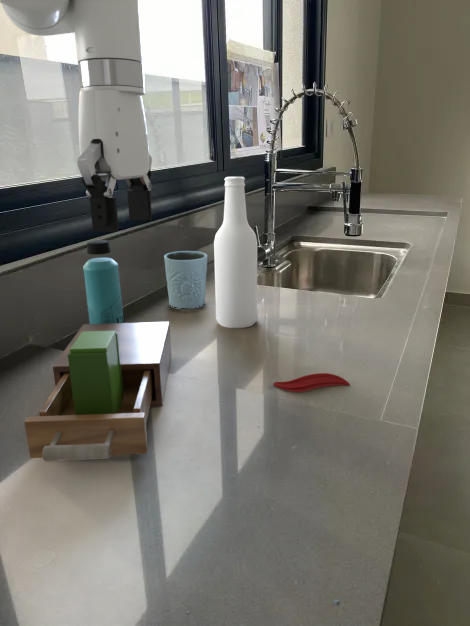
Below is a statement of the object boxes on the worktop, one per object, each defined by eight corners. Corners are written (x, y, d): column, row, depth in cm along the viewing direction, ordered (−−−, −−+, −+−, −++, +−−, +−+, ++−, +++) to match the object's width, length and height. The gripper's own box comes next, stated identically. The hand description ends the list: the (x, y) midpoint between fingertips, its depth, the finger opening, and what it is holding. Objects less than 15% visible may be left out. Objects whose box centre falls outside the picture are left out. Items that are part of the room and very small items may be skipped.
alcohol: (248, 331, 101) (247, 178, 91) (209, 326, 104) (204, 178, 94) (262, 318, 108) (263, 175, 99) (225, 313, 112) (222, 175, 102)
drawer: (141, 478, 54) (138, 439, 53) (15, 483, 54) (8, 444, 52) (160, 389, 74) (158, 359, 73) (68, 393, 74) (64, 362, 72)
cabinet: (162, 406, 72) (159, 363, 69) (58, 410, 71) (52, 366, 69) (171, 357, 88) (169, 321, 86) (87, 360, 88) (83, 324, 86)
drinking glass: (186, 296, 126) (183, 249, 122) (217, 302, 120) (216, 253, 116) (157, 306, 118) (154, 256, 114) (190, 313, 112) (187, 261, 109)
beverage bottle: (122, 351, 92) (112, 243, 85) (86, 351, 92) (74, 244, 85) (130, 338, 98) (121, 237, 91) (96, 338, 98) (85, 237, 92)
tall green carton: (77, 429, 62) (66, 351, 59) (90, 400, 69) (82, 329, 66) (114, 427, 62) (106, 350, 59) (124, 398, 69) (117, 328, 66)
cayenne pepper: (271, 390, 76) (271, 379, 75) (273, 377, 80) (273, 366, 79) (351, 394, 74) (352, 382, 74) (349, 380, 79) (349, 369, 78)
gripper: (118, 90, 68) (128, 216, 73) (40, 72, 52) (60, 235, 58) (169, 87, 66) (175, 217, 72) (104, 68, 50) (119, 237, 56)
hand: (124, 225), depth 65 cm, fingers open, 9 cm apart
